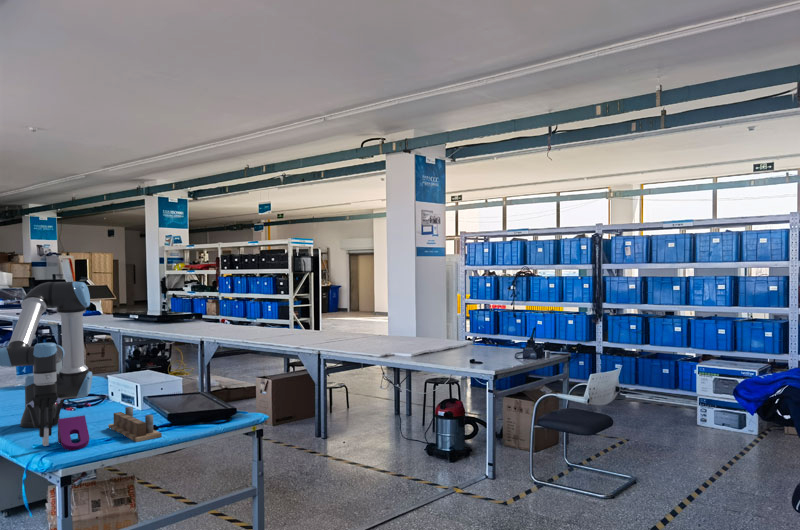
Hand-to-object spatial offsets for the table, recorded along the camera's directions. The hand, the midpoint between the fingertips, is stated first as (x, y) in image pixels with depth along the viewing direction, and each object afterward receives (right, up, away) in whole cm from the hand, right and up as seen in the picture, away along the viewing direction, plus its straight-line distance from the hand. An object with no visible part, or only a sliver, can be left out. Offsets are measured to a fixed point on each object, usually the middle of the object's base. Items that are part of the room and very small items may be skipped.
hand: (45, 444), depth 221 cm
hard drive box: (-81, -6, +133) cm, 156 cm away
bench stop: (+23, -2, +23) cm, 33 cm away
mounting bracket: (+7, -2, +7) cm, 10 cm away
